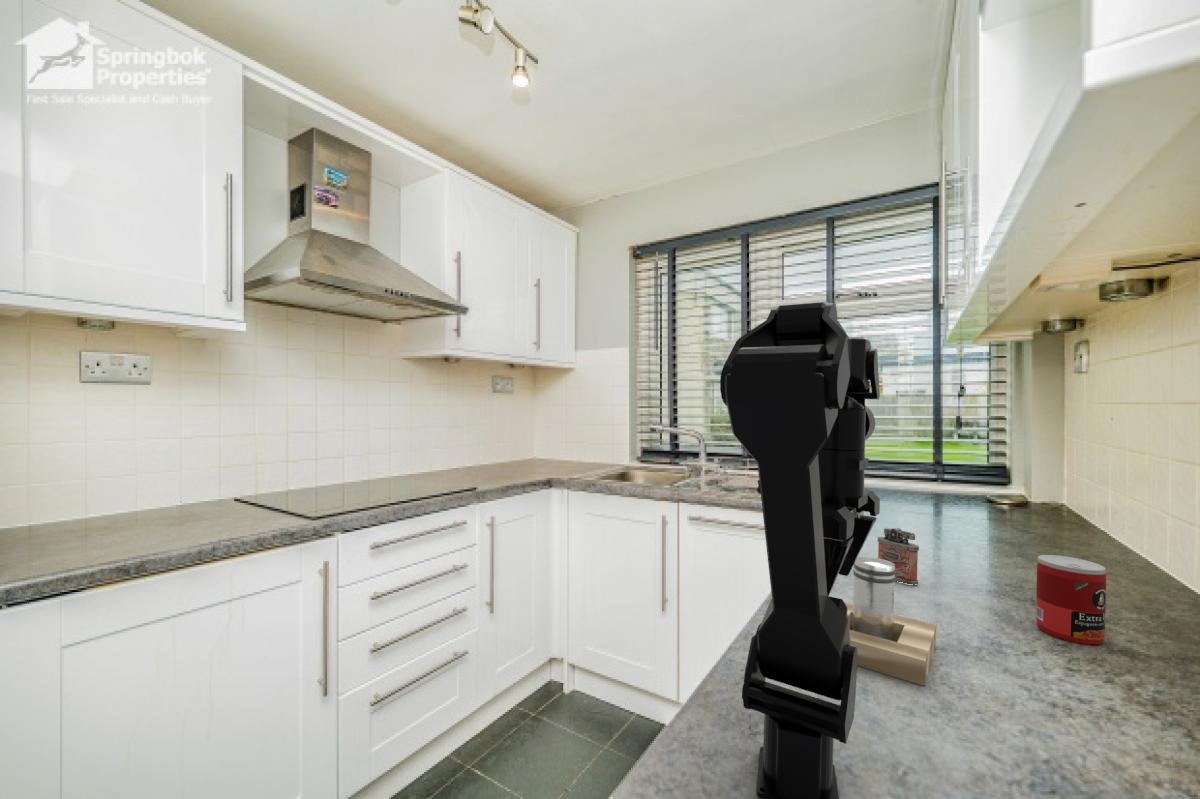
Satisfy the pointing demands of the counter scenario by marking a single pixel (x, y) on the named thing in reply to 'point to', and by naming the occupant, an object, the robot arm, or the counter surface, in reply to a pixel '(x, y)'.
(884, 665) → the tan square ring
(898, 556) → the lighter
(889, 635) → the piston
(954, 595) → the counter surface
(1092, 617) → the canned food
